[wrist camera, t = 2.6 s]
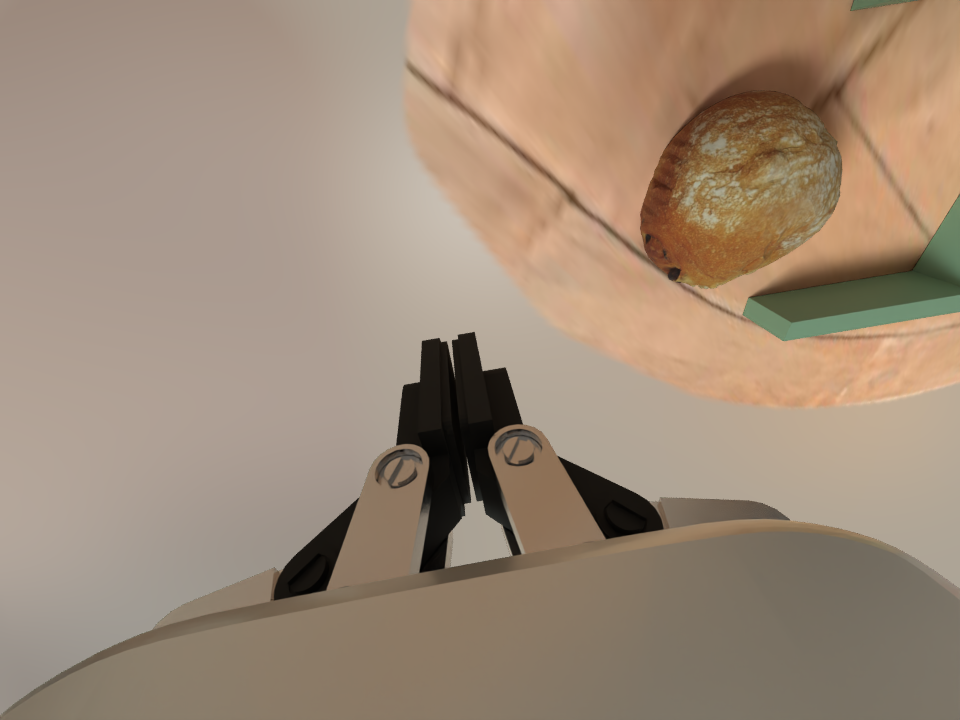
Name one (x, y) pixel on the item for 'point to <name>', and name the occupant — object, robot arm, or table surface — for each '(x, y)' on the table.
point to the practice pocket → (870, 286)
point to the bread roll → (740, 189)
